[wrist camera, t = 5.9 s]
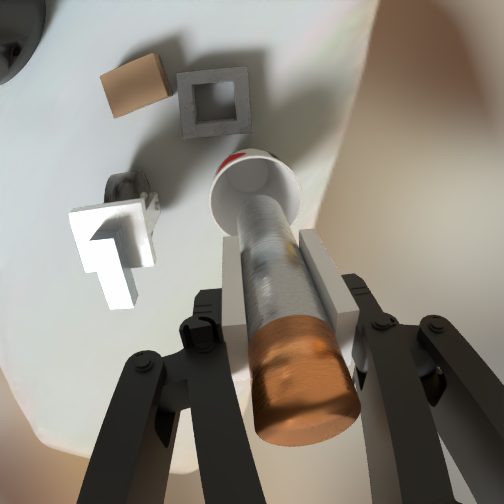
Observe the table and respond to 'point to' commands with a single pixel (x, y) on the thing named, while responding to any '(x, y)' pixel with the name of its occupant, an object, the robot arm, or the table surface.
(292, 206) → the cup
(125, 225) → the caster wheel
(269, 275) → the pin
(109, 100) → the block
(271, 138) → the table surface
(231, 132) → the grey square socket base
